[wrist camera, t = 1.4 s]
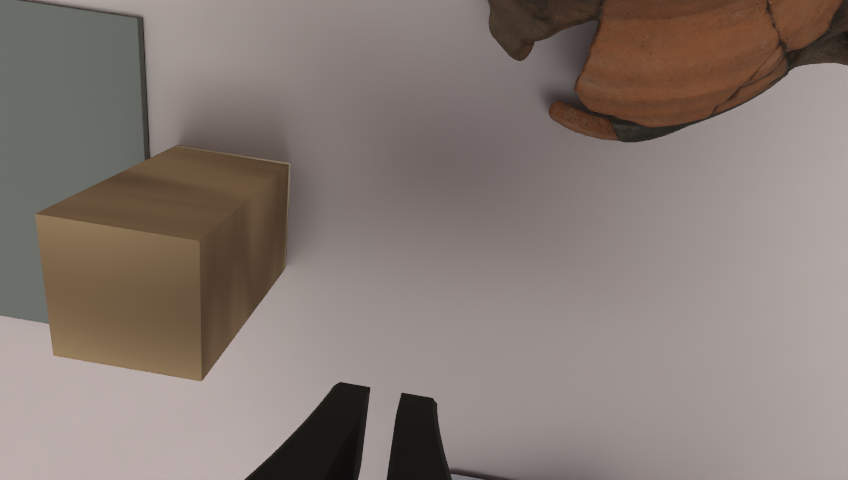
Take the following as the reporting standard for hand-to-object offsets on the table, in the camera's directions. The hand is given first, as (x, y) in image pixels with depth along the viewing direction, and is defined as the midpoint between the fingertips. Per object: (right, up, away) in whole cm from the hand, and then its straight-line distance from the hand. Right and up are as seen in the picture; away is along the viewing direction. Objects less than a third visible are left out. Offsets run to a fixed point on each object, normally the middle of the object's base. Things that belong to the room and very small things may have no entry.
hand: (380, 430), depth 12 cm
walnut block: (-6, +5, +9) cm, 12 cm away
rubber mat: (-13, +6, +10) cm, 18 cm away
